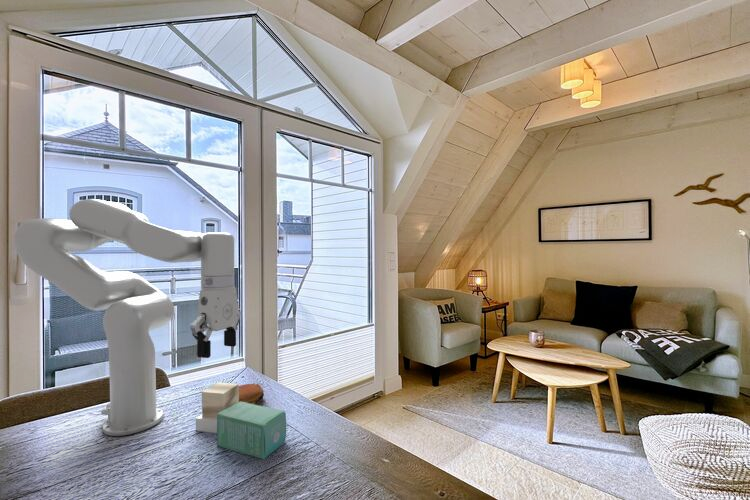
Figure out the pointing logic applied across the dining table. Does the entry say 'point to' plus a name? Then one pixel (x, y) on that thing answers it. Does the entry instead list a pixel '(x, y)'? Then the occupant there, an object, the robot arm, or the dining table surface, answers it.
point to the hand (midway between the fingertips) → (217, 351)
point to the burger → (251, 393)
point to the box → (251, 429)
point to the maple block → (219, 398)
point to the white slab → (206, 424)
